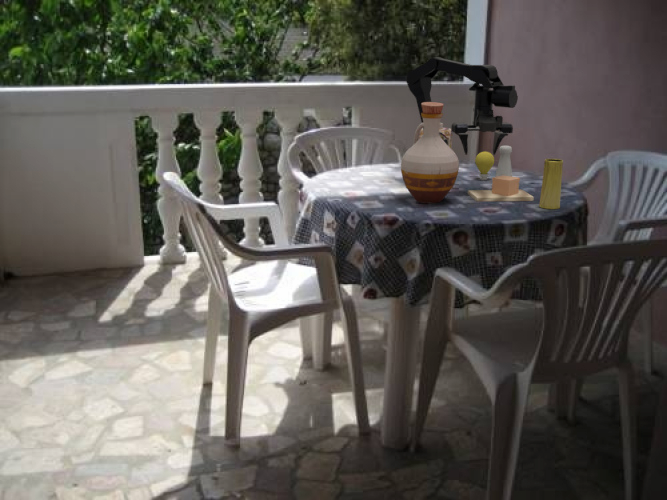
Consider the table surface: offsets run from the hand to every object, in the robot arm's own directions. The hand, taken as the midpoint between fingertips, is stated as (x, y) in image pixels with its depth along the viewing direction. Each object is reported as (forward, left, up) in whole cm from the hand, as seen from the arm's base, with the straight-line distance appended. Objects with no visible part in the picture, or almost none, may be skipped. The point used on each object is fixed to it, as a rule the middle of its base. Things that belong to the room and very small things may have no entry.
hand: (480, 154), depth 231 cm
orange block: (+7, -8, -11) cm, 15 cm away
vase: (+16, -22, -13) cm, 30 cm away
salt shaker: (+13, +14, -13) cm, 23 cm away
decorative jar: (-6, +39, -13) cm, 41 cm away
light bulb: (+8, +21, -13) cm, 26 cm away
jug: (-19, -10, -13) cm, 25 cm away
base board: (+5, -8, -12) cm, 16 cm away
